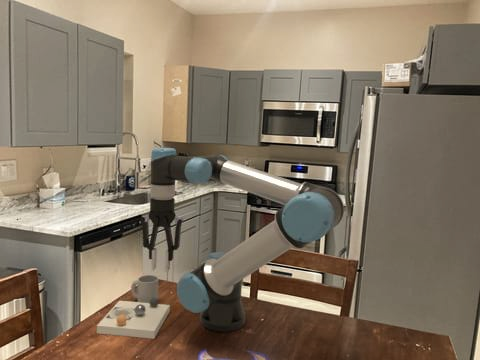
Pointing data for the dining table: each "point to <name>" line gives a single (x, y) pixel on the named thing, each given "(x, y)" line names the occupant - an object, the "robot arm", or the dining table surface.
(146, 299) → the cup
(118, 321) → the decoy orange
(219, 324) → the robot arm
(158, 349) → the dining table surface
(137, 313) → the ball
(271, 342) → the dining table surface
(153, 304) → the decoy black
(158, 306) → the board
